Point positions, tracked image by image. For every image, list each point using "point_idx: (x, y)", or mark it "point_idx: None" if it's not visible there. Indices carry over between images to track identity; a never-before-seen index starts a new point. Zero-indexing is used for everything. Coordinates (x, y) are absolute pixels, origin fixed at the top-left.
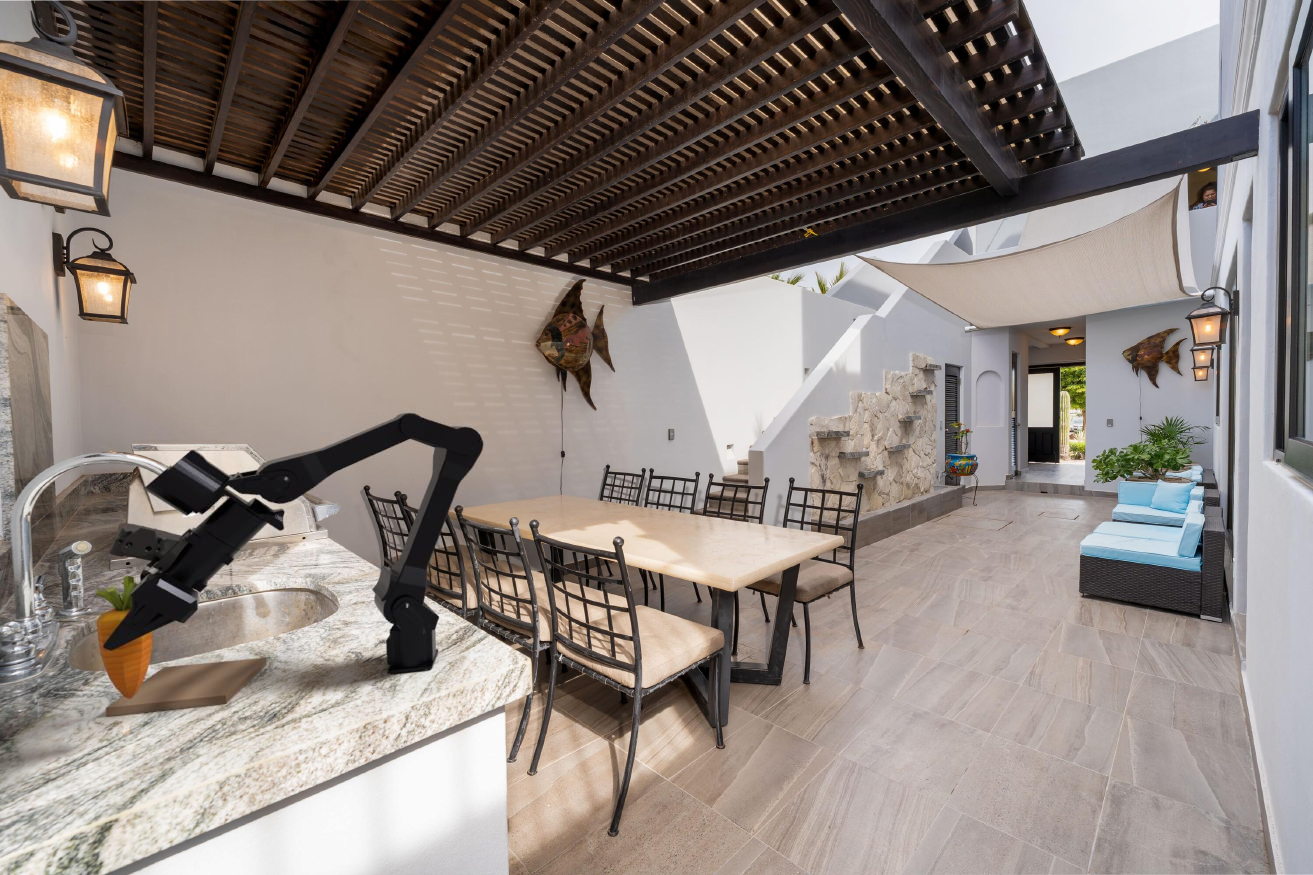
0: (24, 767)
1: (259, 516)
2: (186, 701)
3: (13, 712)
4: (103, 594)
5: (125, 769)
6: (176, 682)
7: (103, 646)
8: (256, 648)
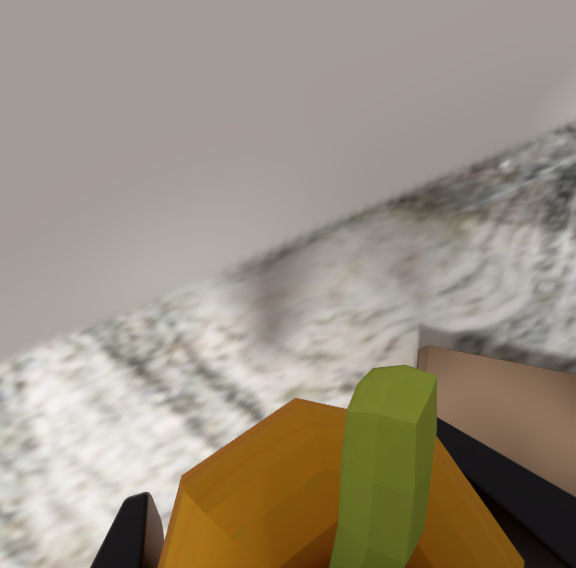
0: (228, 287)
1: None
2: None
3: (498, 156)
4: (352, 502)
5: (99, 523)
6: (540, 471)
7: (126, 501)
8: None
